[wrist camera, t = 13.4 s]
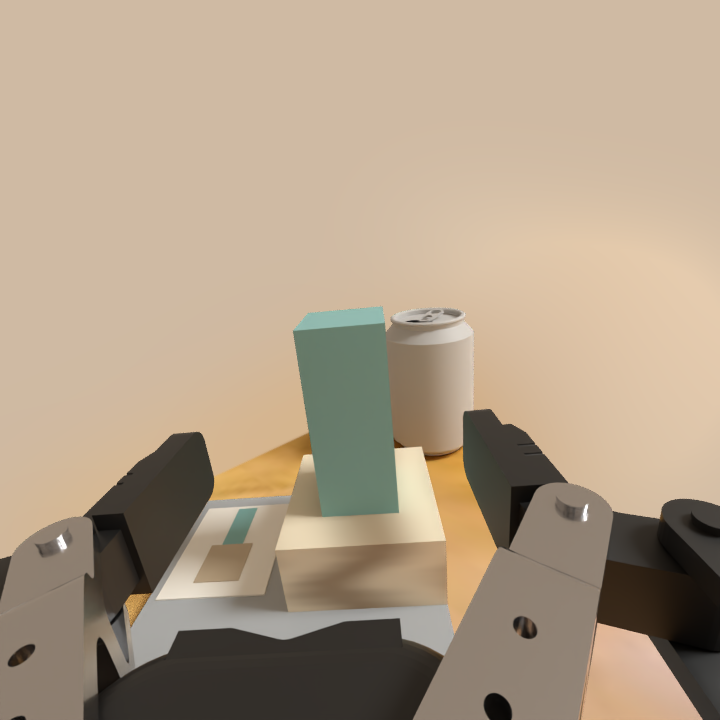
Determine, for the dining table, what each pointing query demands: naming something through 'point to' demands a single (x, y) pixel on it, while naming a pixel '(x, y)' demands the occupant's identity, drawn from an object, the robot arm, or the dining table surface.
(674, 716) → the dining table surface
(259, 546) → the mat
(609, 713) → the dining table surface
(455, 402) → the can
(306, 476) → the base block
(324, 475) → the pillar
